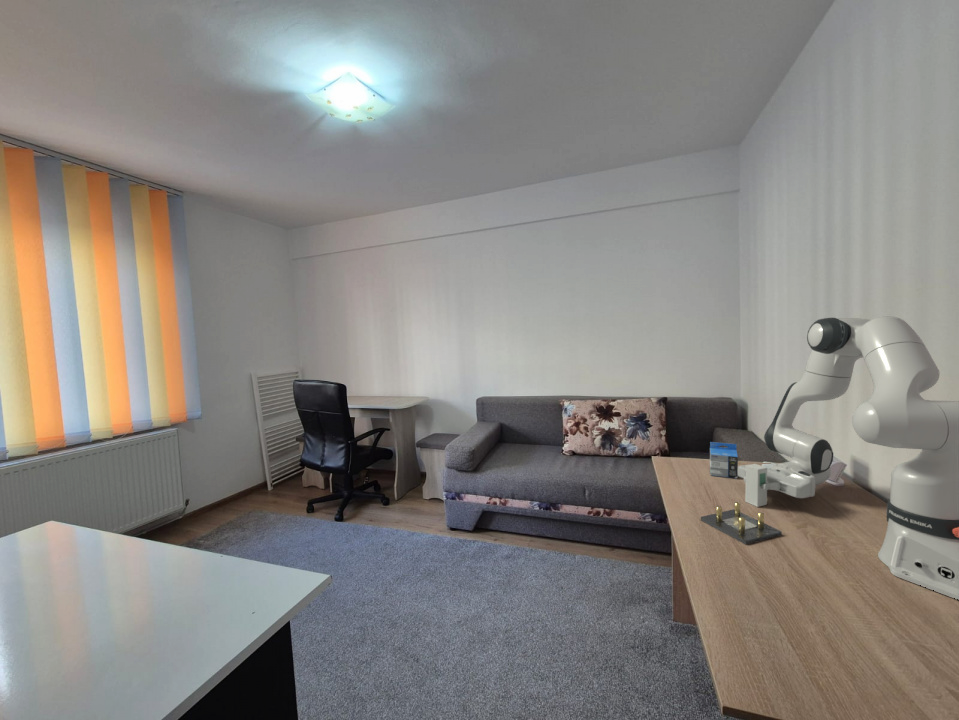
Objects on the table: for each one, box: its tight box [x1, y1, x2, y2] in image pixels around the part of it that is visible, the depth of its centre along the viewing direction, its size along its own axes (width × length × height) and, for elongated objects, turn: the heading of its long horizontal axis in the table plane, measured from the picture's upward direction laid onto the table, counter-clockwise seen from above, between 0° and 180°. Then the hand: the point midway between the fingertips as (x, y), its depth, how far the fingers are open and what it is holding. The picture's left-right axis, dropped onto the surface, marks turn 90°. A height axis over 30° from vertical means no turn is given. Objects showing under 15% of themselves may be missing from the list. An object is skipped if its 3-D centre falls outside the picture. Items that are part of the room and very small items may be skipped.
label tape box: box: [709, 441, 739, 479], centre depth 145 cm, size 9×4×12 cm, turn 61°
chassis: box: [700, 501, 783, 545], centre depth 109 cm, size 14×13×5 cm
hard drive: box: [760, 461, 778, 469], centre depth 149 cm, size 2×8×12 cm
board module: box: [744, 463, 768, 508], centre depth 122 cm, size 4×4×12 cm
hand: (754, 483), depth 122 cm, fingers closed on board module, 4 cm apart
